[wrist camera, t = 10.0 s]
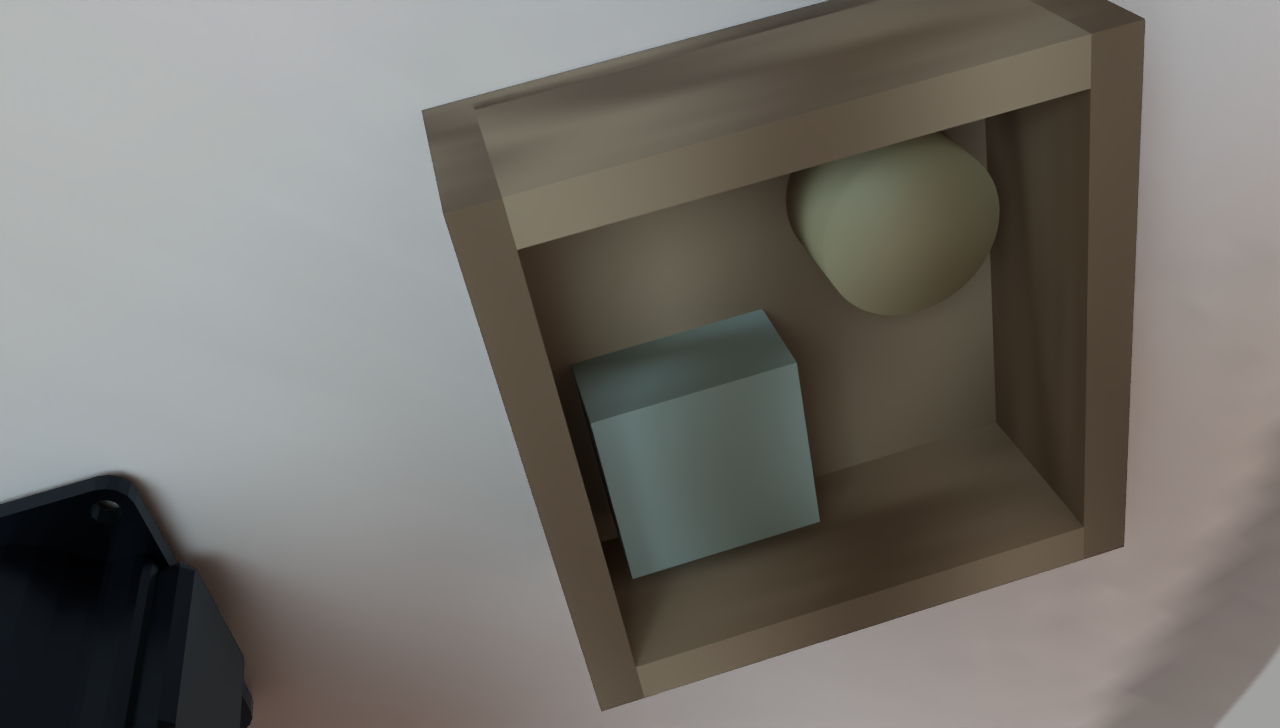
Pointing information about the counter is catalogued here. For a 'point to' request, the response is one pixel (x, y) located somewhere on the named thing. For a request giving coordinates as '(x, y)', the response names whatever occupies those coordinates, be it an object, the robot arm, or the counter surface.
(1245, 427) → the counter surface
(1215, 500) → the counter surface
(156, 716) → the robot arm
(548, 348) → the box
